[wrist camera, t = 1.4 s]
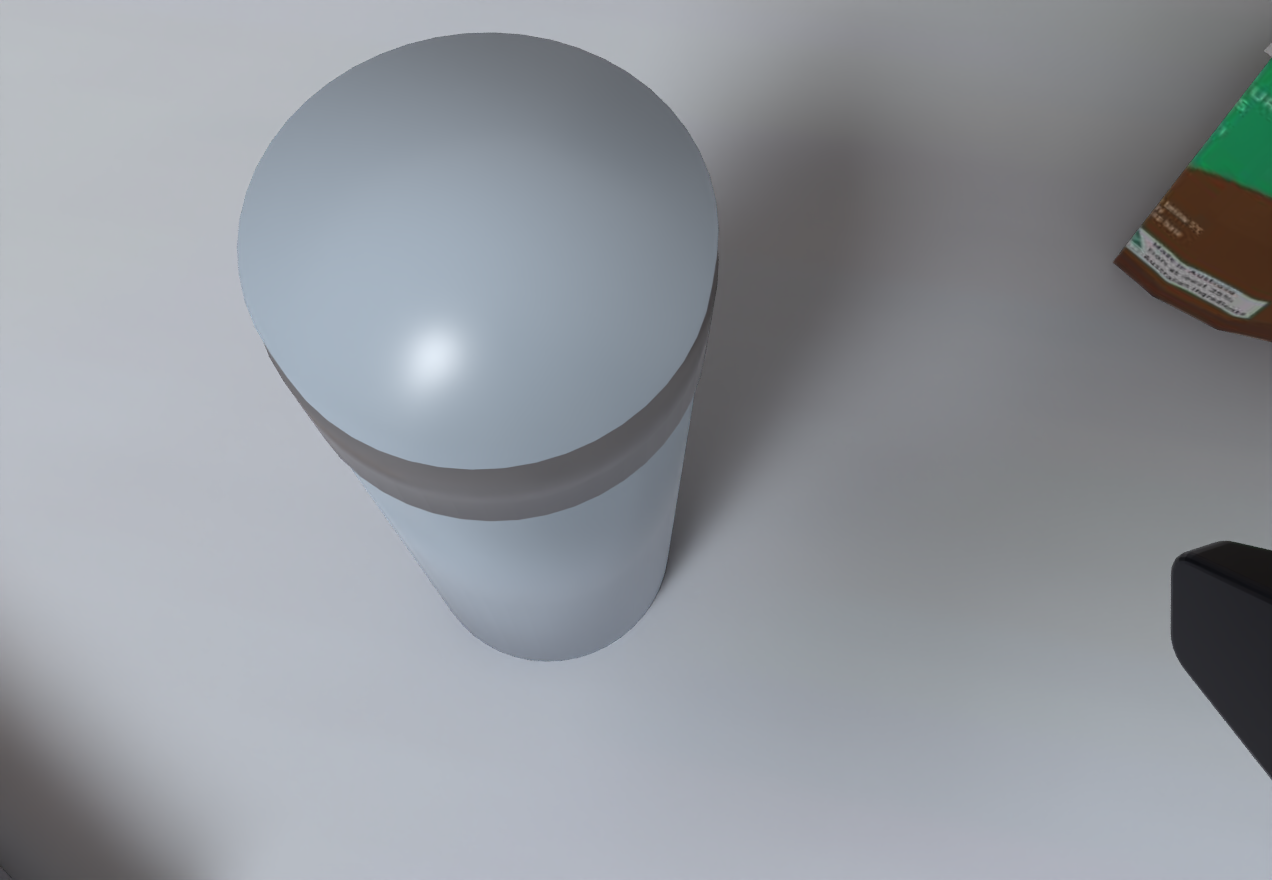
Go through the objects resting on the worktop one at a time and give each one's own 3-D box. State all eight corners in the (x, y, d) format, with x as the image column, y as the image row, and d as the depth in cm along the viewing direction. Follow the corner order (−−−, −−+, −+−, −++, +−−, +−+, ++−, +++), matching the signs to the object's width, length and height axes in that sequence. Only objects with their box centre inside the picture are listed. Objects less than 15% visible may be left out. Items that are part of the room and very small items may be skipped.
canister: (653, 681, 21) (691, 488, 10) (407, 644, 21) (169, 414, 10) (685, 448, 23) (747, 59, 12) (457, 417, 23) (302, 3, 12)
